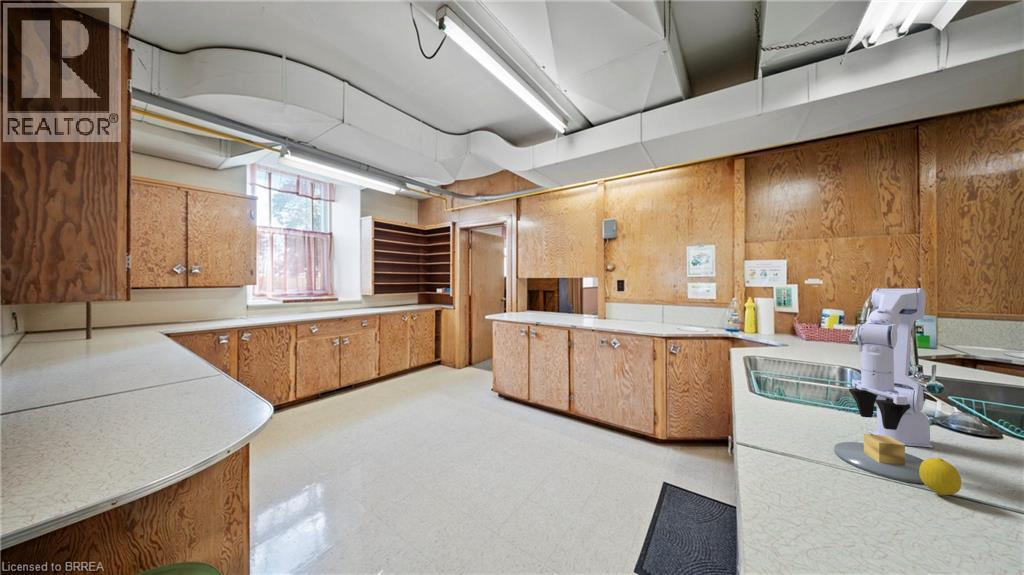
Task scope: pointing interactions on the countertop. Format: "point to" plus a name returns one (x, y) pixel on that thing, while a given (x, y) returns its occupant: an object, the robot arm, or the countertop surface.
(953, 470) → the lemon
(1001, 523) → the countertop surface
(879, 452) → the cube
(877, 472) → the plate
